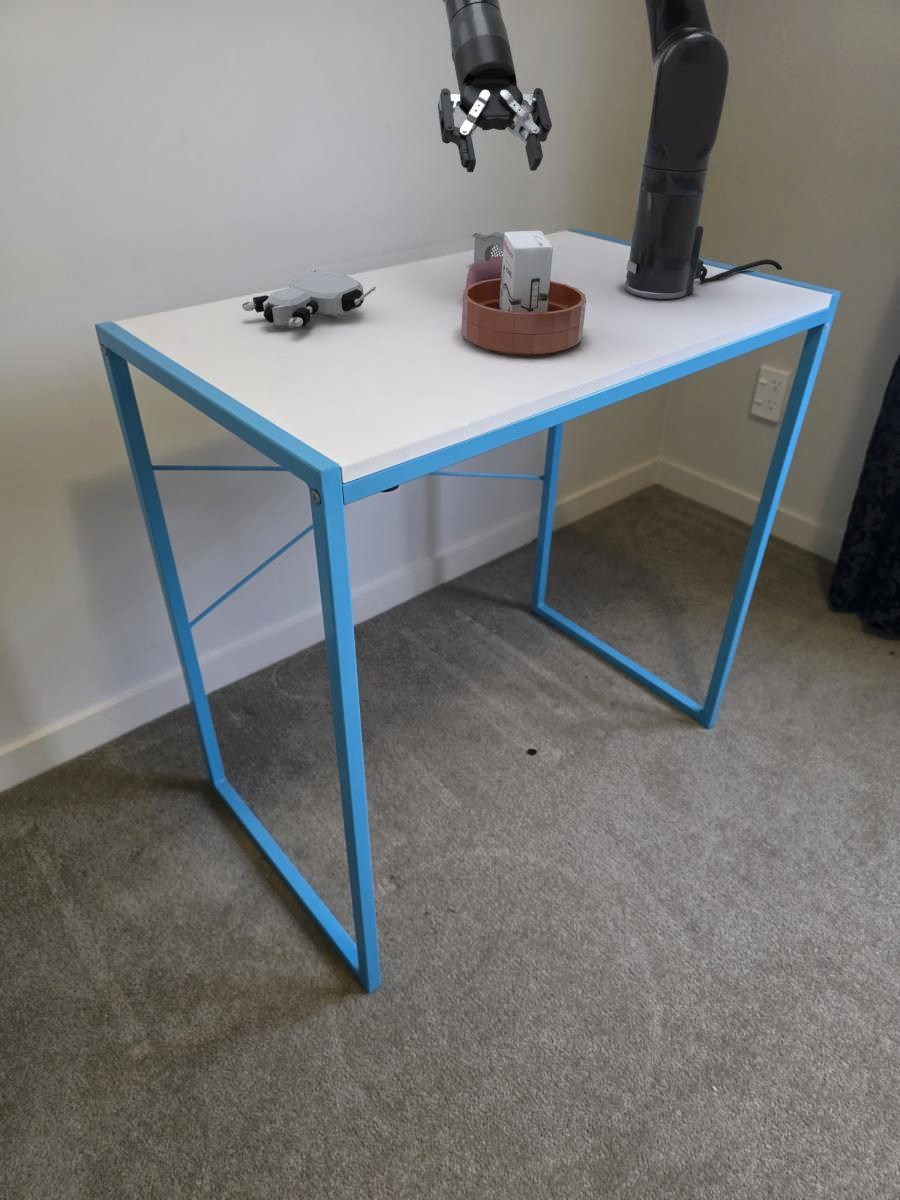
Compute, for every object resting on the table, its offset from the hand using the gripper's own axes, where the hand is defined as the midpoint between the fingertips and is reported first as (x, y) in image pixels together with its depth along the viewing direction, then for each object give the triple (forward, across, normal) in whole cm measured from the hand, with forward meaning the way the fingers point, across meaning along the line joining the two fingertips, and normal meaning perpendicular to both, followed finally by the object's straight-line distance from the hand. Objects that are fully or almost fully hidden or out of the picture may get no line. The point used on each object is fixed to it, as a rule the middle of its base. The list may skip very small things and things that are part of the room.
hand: (504, 167), depth 110 cm
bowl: (+20, 0, +6) cm, 21 cm away
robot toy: (+11, -26, +15) cm, 32 cm away
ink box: (+20, 0, +6) cm, 21 cm away
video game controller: (+9, +2, +17) cm, 20 cm away
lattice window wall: (-1, +7, +27) cm, 28 cm away
